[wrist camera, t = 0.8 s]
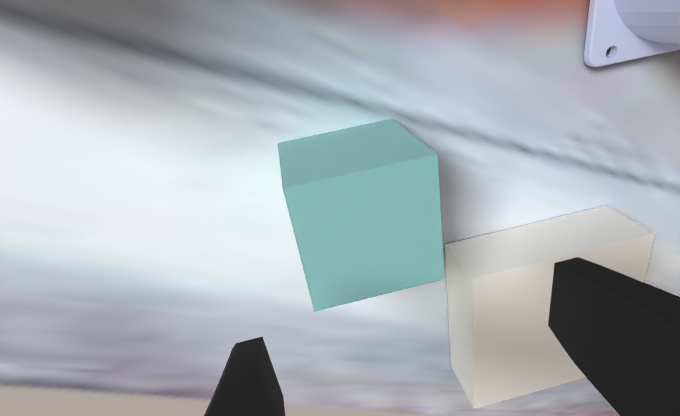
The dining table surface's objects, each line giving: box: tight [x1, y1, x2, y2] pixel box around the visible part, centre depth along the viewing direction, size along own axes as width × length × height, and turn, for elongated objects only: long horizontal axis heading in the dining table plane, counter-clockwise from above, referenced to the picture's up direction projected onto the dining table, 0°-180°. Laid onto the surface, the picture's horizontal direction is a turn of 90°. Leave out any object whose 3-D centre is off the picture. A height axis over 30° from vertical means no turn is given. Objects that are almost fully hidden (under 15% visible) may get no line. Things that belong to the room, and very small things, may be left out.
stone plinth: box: [445, 205, 656, 409], centre depth 21 cm, size 9×9×3 cm
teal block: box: [278, 119, 445, 312], centre depth 16 cm, size 5×5×5 cm
